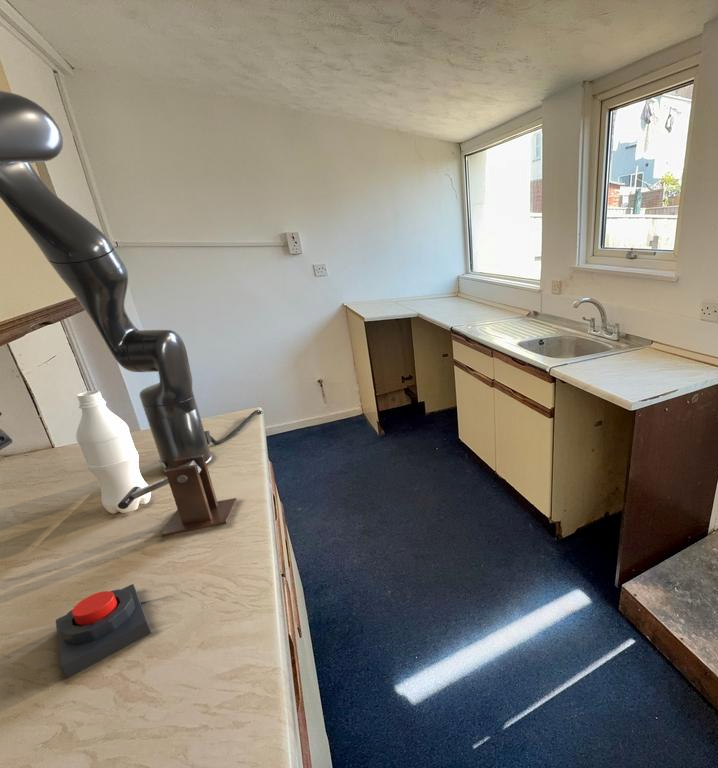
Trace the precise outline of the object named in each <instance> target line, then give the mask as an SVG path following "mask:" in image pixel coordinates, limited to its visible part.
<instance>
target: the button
mask: <svg viewBox="0 0 718 768" xmlns="http://www.w3.org/2000/svg"><path fill="white" fill-rule="evenodd" d="M110 591H111V590H104V591H100V592H96V593H92V595H89V596H87V597H85V598H83V599H82V600H81V601H79V602H78V603H77V604H76V605H75V606H74V607H73V608H72V609H71V610H72V615H73V617H74V619H75V622H76V624H77V625H80V626H85V625H89V624H92V623H95V622H97V621H99V620H101V619H103V618H105V617H106V616H108V615H109V614H110V613H111V612H113V611H114V610H115V609H116V607H117V601H116V598H115V596H114V594H113V593H112V592H110Z"/></svg>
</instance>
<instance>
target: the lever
mask: <svg viewBox="0 0 718 768" xmlns="http://www.w3.org/2000/svg"><path fill="white" fill-rule="evenodd" d="M191 465H197V464H196V462H195V461H194V460H192V461H190V462H188V463H186V464H183V465H181V466H179V467H185V466H191ZM197 468H198V471H199V473H200V471H201V470H202V469H201V468H200V467H199V466H198V465H197ZM168 484H169V482H168V478H167V476H166V477H164V478H161V479H158V480H157V481H155V482H153V483H151V484H148V486H146V487H144V488H142V489H141V488H140V487H138V486H136V487H133V488H132V489H131V490H130V491H129V493H128V494H127V495H126V496H125V497H124V498H123V499H122V500H121V501H120V503H119V504H118V507H119V508H120V509H126V508H127V507H128V506H129V505H130V504H131V503H132V502H133V500H134V499H136V498H138V497H140V496H143V495H145V494H147V493H149V492H151V493H152V492H153V491H156V490H158V489H160V488H162V487H165V486H167V485H168Z"/></svg>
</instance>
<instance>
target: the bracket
mask: <svg viewBox="0 0 718 768" xmlns="http://www.w3.org/2000/svg"><path fill="white" fill-rule="evenodd" d="M192 460H194V461H195V462H196V464H197V465H198V466H199V467H200V468H201V469H202V470H201V471H200V473H199V471H198V468H197V465H191V466H185V467H179V466H181V465H183V464H186V463H188V462H190V461H192ZM174 462H175V465H176V468H172V469H167V470H166V473H165V475H166V477H167V478H168V482H169V487H170V491H171V493H172V496H173V500H174V502H175V505H176V511H175V512H174V514H173V515H172V517H171V518H170V520H169V521H168V523H167V524H166V526H165V528H164V529H163V530H162V532H161V534H160V535H161V537H162V538H164V537H169V536H174V535H178V534H184V533H188V532H193V531H198V530H199V531H200V530H204V529H208V528H213V527H219V526H224V525H227V524H228V522H229V520H230V518H231V515H232V513H233V510H234V509H235V506H236V504H237V502H238V498H237V497H234V498H233V497H232V498H227V499H223V500H218V499H217V496H216V493H215V489H214V485H213V482H212V478H211V475H210V470H209V468H208V464H206V461H205V457H204V455H197V456H190V457H183V458H177V459H175V461H174Z"/></svg>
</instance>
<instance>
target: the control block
mask: <svg viewBox="0 0 718 768" xmlns="http://www.w3.org/2000/svg"><path fill="white" fill-rule="evenodd" d="M109 591H110V592H112V593H113V594H114V596H115V598H116V601H117V607H116V609H115V610H114V611H113V612H111V613H110V614H109V615H108V616H106V617H105V618H103V619H101V620H99V621H97V622H95V623H92V624H89V625H85V626H80V625H77V624H76V622H75V619H74V617H73V615H72V610H73V609H71V610H70V611H68V612H67V613H66V614H65V615H62V616H61V617H58V618H56V619H55V626H56V633H57V641H58V643H57V644H58V651H59V659H60V667H61V669H62V671H63V673H64V675H65V676H66V678H67V679H70V678H72V677H73V676H75V675H77V674H79V673H81V672H82V671H84V670H86V669H88V668H90V667H92V666H93V665H95V664H97V663H99V662H101V661H103V660H104V659H106V658H108V657H110V656H112V655H114V654H116V653H118V652H119V651H121V650H123V649H125V648H127V647H128V646H130V645H132V644H134V643H135V642H138V641H139V640H142V639H143V638H145V637H147V636H149V635H150V634H152V631H151V628H150V625H149V622H148V620H147V617H146V613H145V611H144V608H143V605H142V603H141V599H140V598H139V595H138V592H137V589H136V586H135V585H134V583H132V584H129V585H127V586H125V587H123V588H119V589H114V590H109Z"/></svg>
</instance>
